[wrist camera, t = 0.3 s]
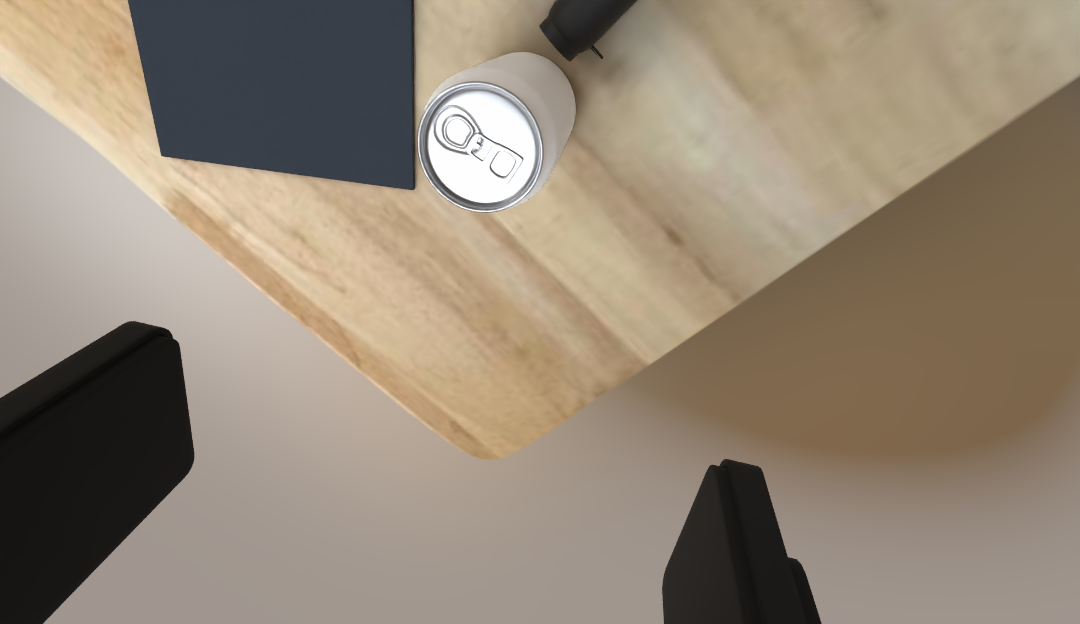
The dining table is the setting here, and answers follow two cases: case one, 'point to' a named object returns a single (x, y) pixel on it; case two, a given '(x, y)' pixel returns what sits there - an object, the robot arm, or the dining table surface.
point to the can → (496, 131)
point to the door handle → (581, 23)
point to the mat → (283, 85)
